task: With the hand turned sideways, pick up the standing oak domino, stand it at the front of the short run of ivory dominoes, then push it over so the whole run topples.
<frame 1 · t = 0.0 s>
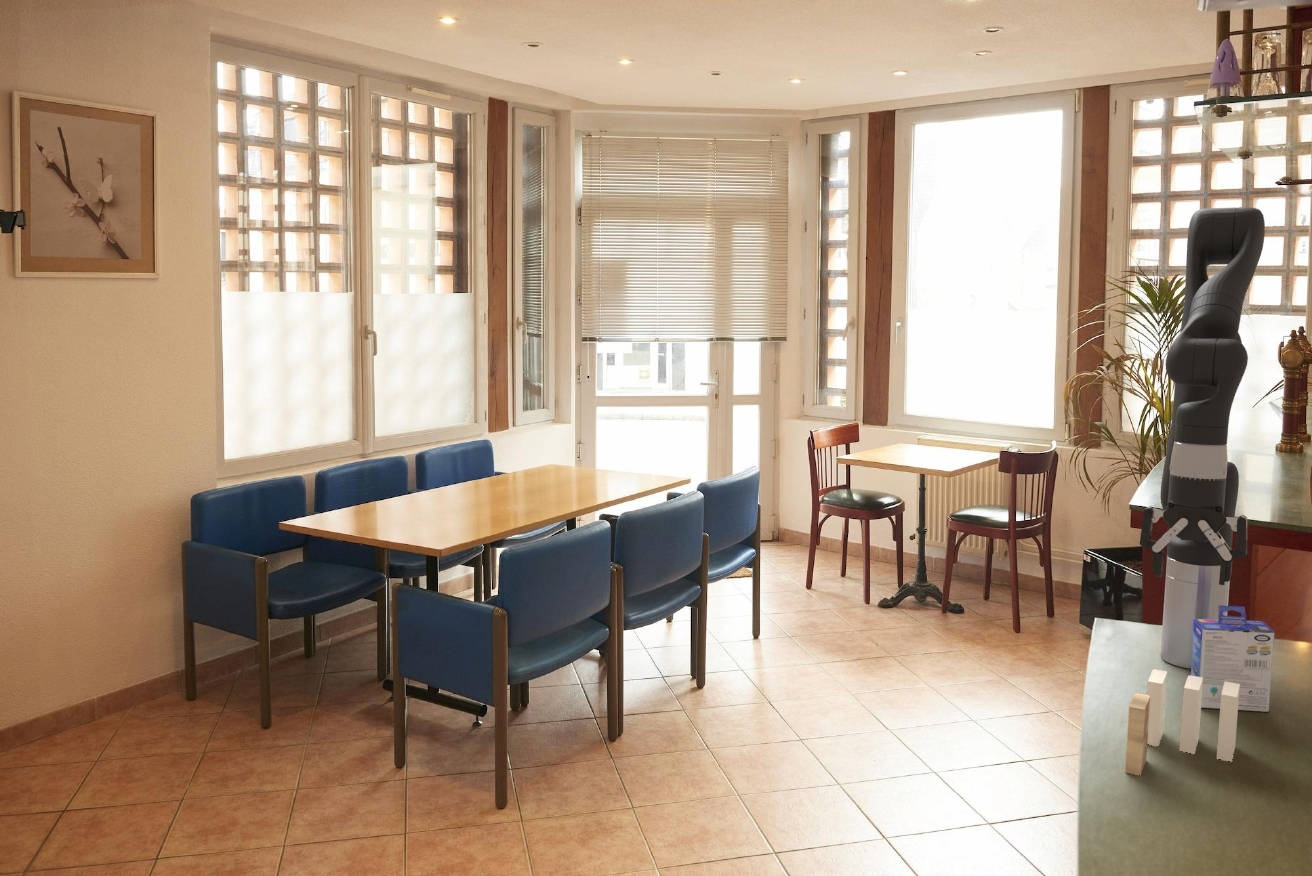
hand: (1190, 580, 161), 17 cm above the bar counter, tool pointing down, fingers open, 8 cm apart
oak domino: (1135, 766, 139), on the bar counter
ivory domino 2: (1189, 745, 145), on the bar counter
ivory domino 1: (1153, 738, 147), on the bar counter
ivory domino 3: (1225, 753, 142), on the bar counter
ink cartridge box: (1228, 704, 158), on the bar counter
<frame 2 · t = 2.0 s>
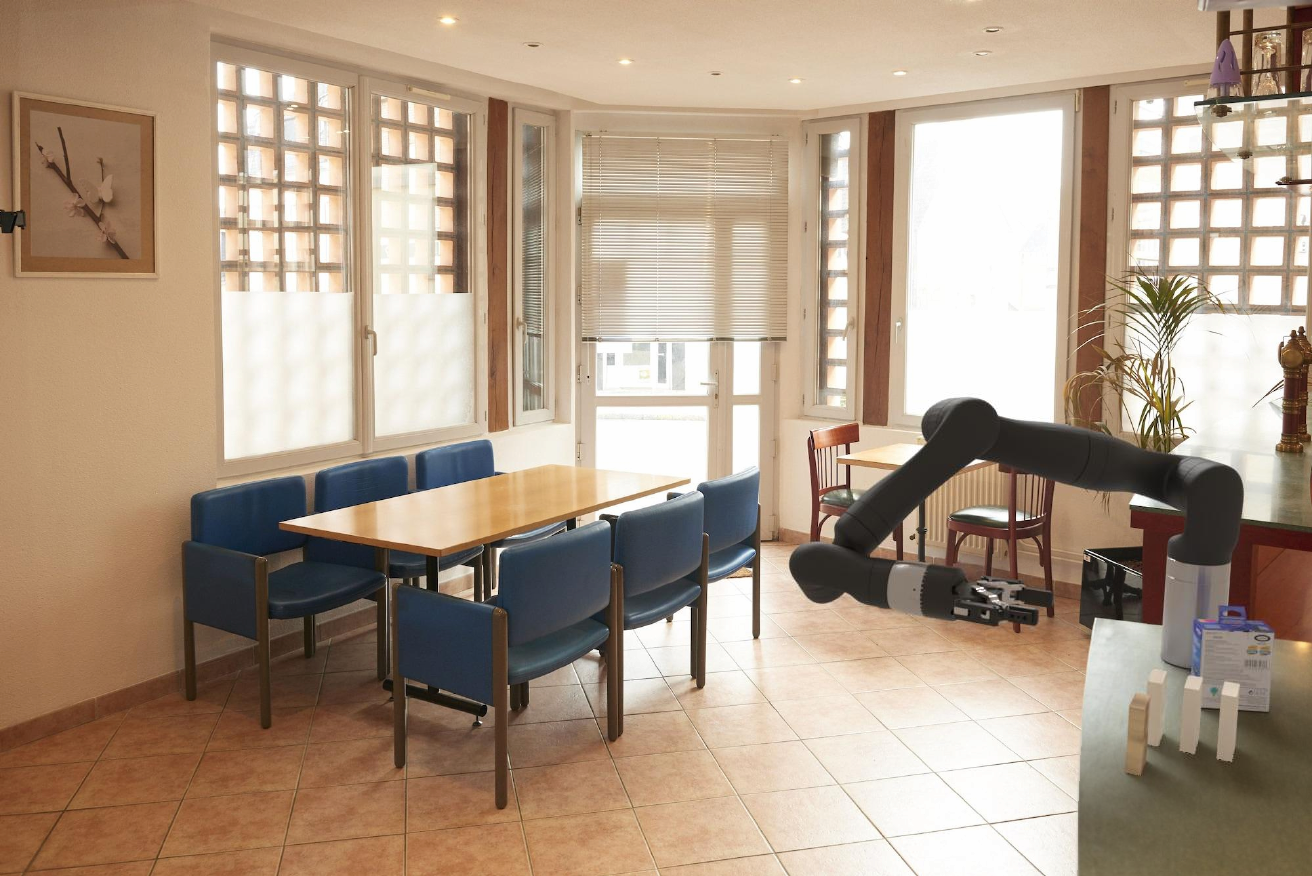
hand: (1045, 608, 142), 19 cm above the bar counter, tool horizontal, fingers open, 8 cm apart
nothing on the bar counter moved.
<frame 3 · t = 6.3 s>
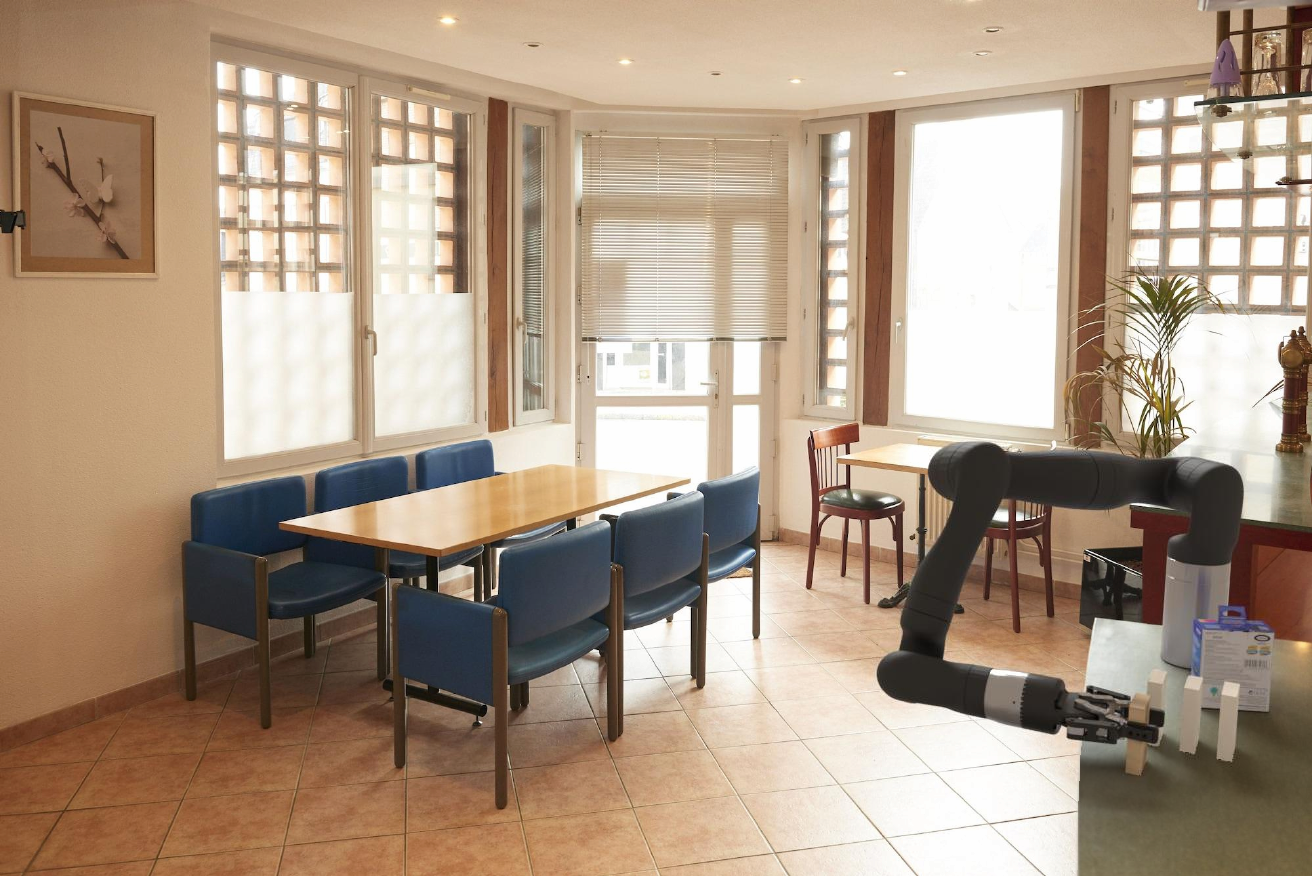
hand: (1160, 727, 137), 6 cm above the bar counter, tool horizontal, fingers closed on oak domino, 5 cm apart
oak domino: (1136, 766, 139), on the bar counter, touching gripper
everything else where it was.
when the fingers open (7 cm above the bar counter, at t = 12.3 s): oak domino stays where it is, on the bar counter.
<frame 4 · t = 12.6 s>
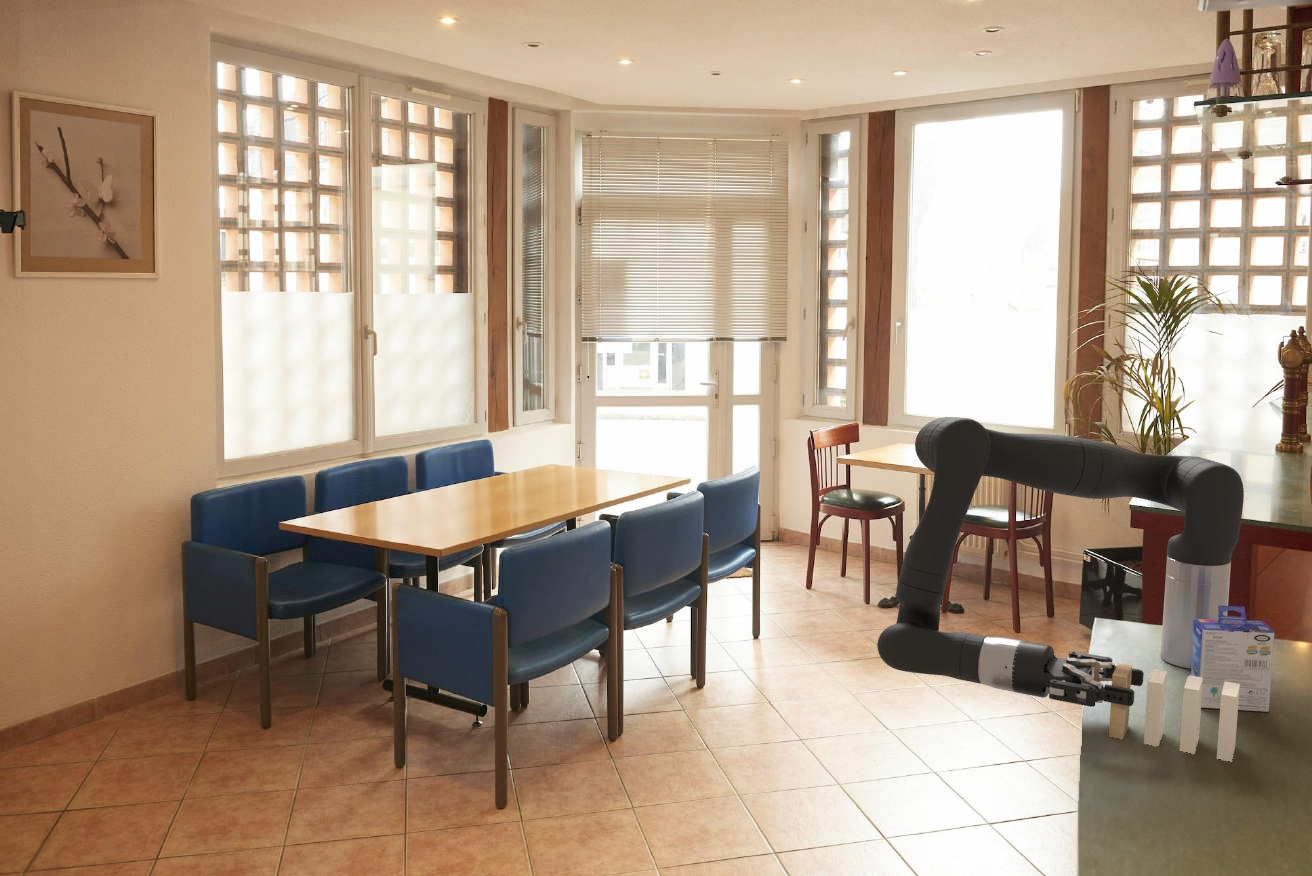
hand: (1138, 688, 147), 7 cm above the bar counter, tool horizontal, fingers open, 7 cm apart
oak domino: (1118, 731, 149), on the bar counter
everything else where it was.
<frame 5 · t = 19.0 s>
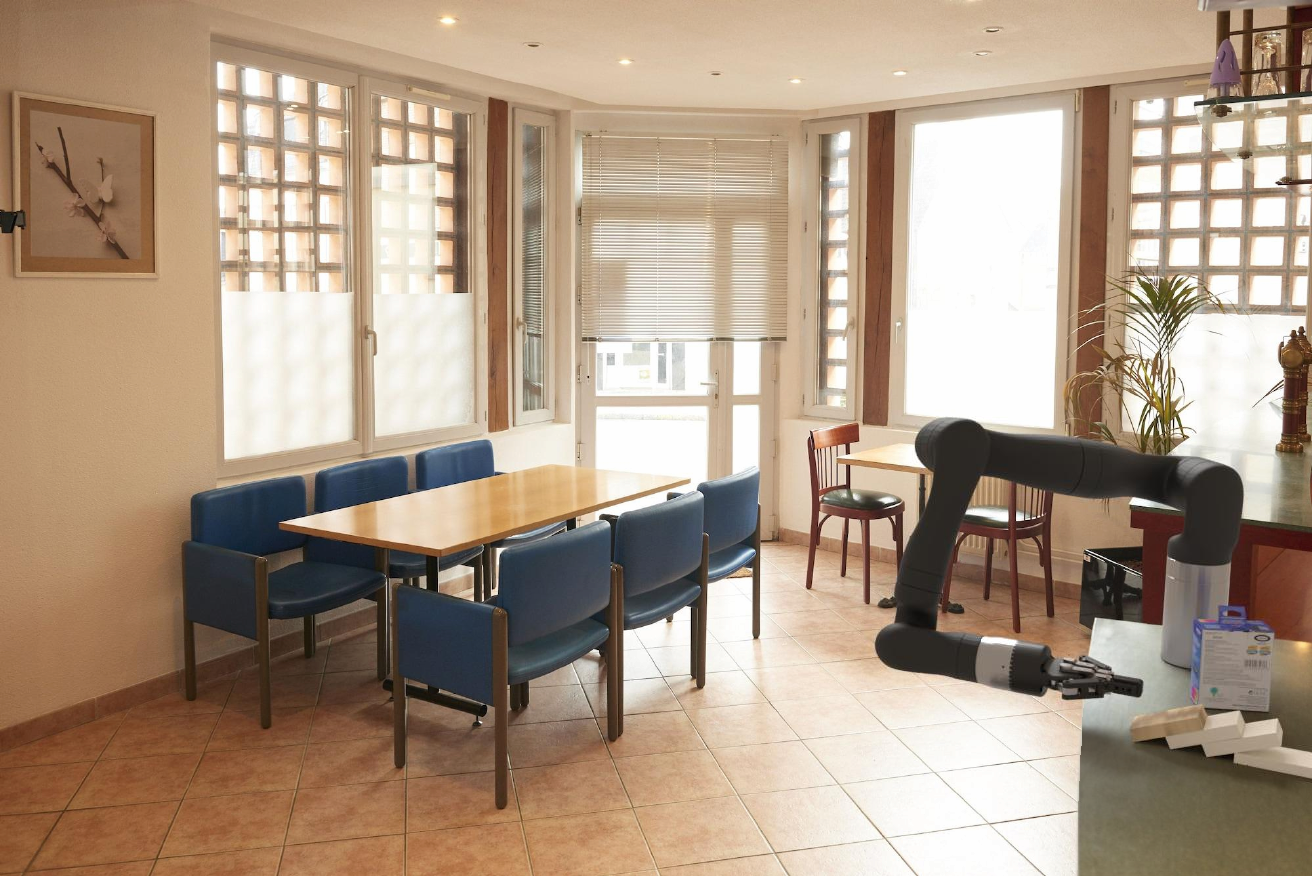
hand: (1142, 688, 147), 7 cm above the bar counter, tool horizontal, fingers closed
oak domino: (1134, 728, 148), point 1 cm above the bar counter, tilted 66°, touching ivory domino 1
ivory domino 2: (1206, 743, 143), point 1 cm above the bar counter, tilted 67°, touching ivory domino 1, ivory domino 3
ivory domino 1: (1170, 735, 146), point 1 cm above the bar counter, tilted 66°, touching ivory domino 2, oak domino
ivory domino 3: (1235, 752, 142), on the bar counter, tilted 90°, touching ivory domino 2
everything else where it was.
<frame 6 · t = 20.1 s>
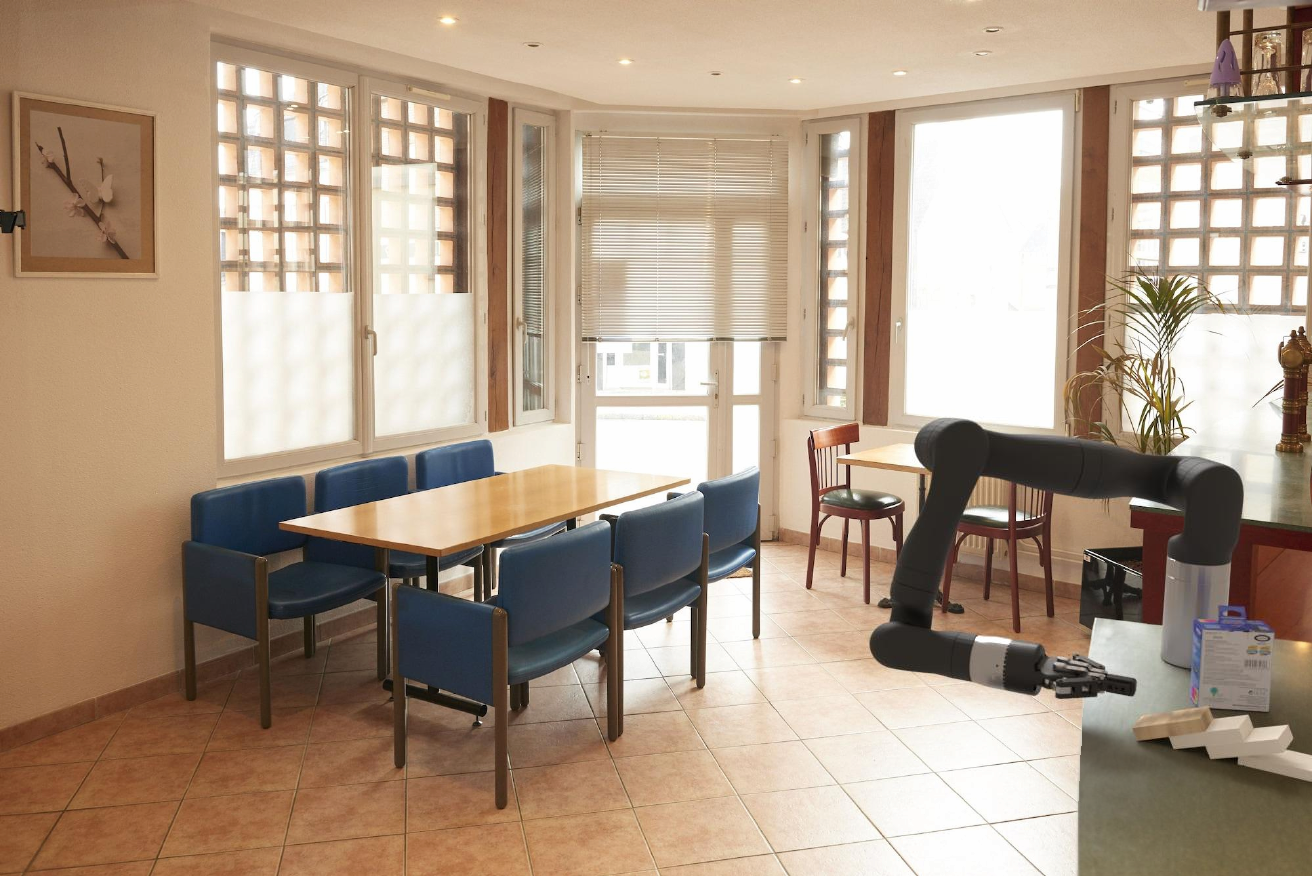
hand: (1135, 687, 147), 7 cm above the bar counter, tool horizontal, fingers closed
ivory domino 2: (1213, 745, 142), point 1 cm above the bar counter, tilted 67°, touching ivory domino 1, ivory domino 3
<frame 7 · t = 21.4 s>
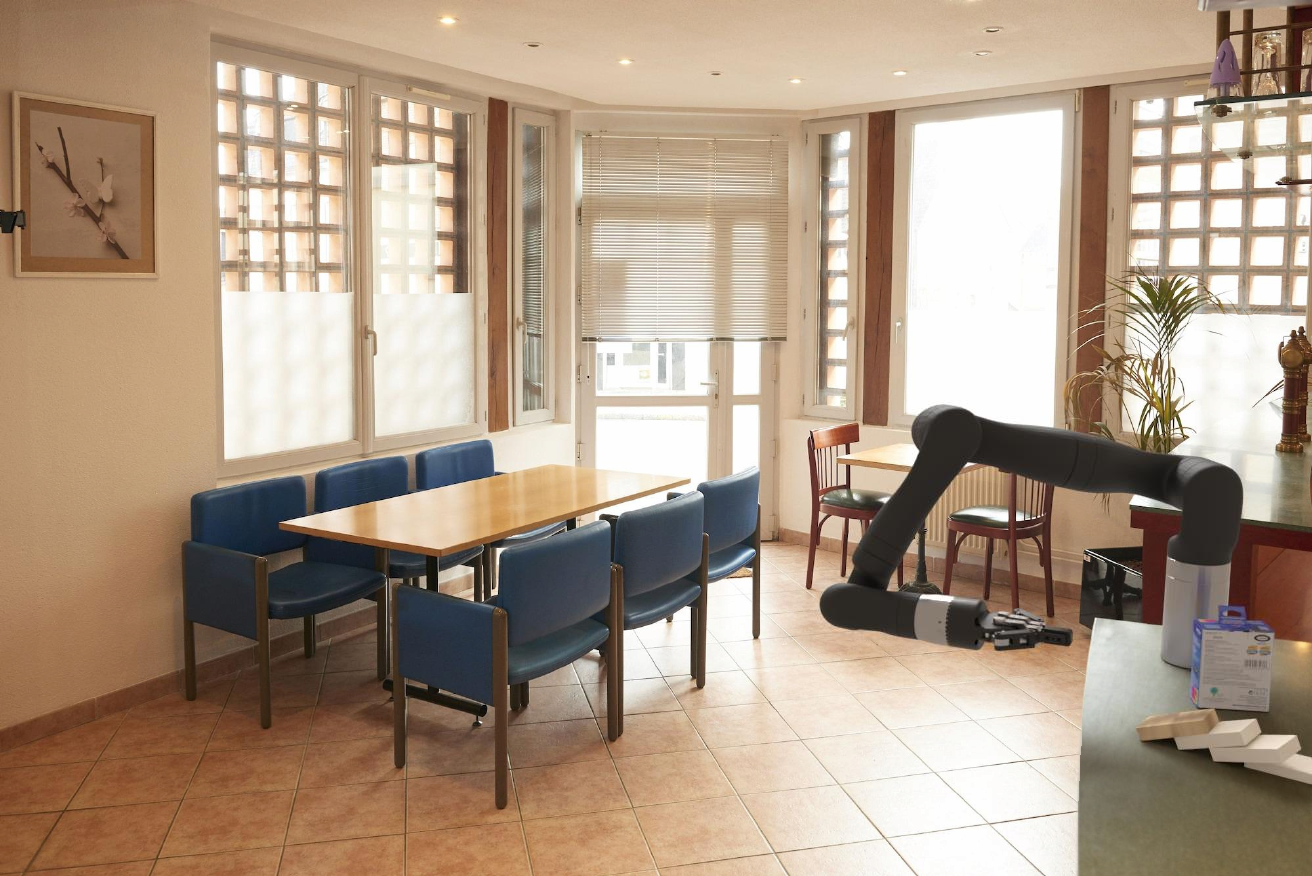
hand: (1071, 638, 152), 12 cm above the bar counter, tool horizontal, fingers closed
ivory domino 2: (1221, 747, 141), point 1 cm above the bar counter, tilted 70°, touching ivory domino 1
ivory domino 3: (1248, 756, 140), on the bar counter, tilted 90°
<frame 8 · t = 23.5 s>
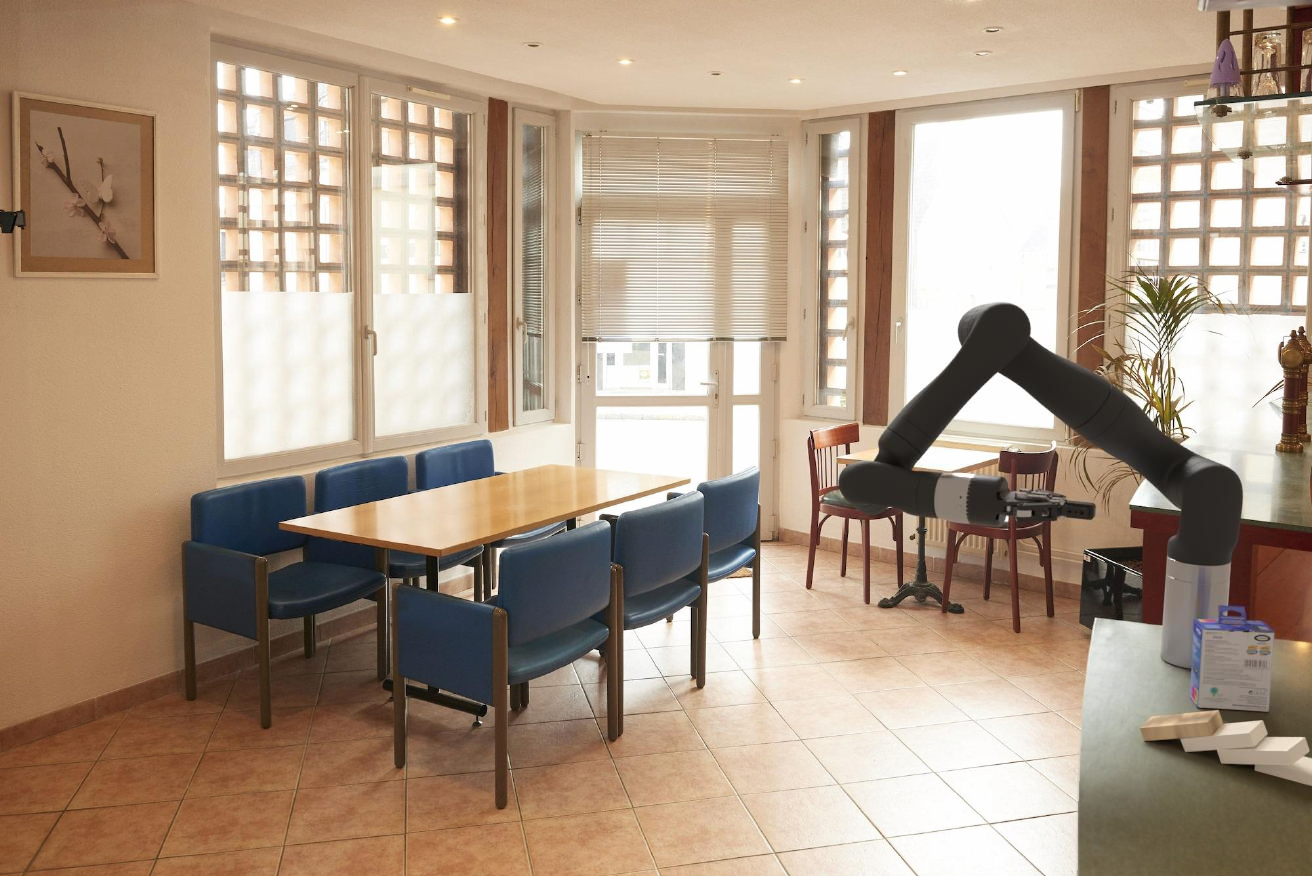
hand: (1094, 511, 150), 30 cm above the bar counter, tool horizontal, fingers closed
oak domino: (1148, 728, 148), point 1 cm above the bar counter, tilted 68°
ivory domino 2: (1228, 750, 141), point 1 cm above the bar counter, tilted 70°, touching ivory domino 1
ivory domino 1: (1190, 739, 145), point 1 cm above the bar counter, tilted 67°, touching ivory domino 2
ivory domino 3: (1259, 759, 139), on the bar counter, tilted 90°
everything else where it was.
at the end: oak domino tilted 68°; ivory domino 3 tilted 90° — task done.
